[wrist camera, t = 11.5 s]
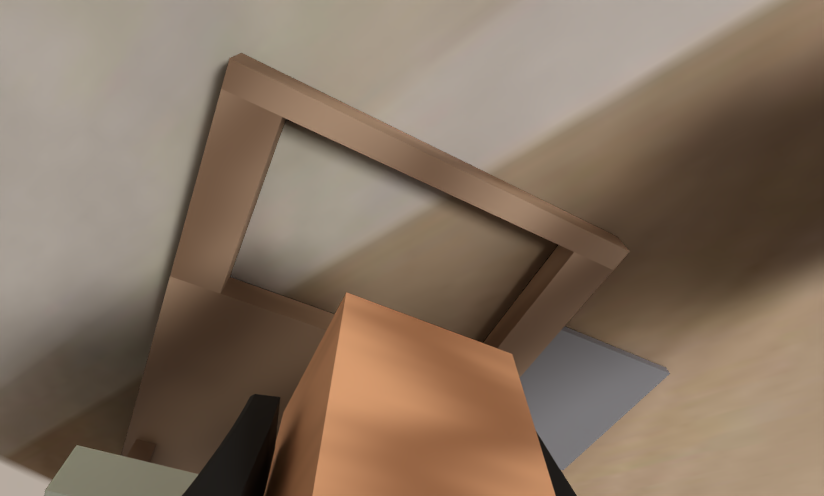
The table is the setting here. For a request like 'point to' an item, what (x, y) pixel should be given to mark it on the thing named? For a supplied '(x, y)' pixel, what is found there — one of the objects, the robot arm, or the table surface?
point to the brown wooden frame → (292, 320)
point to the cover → (116, 476)
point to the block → (406, 415)
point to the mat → (583, 391)
